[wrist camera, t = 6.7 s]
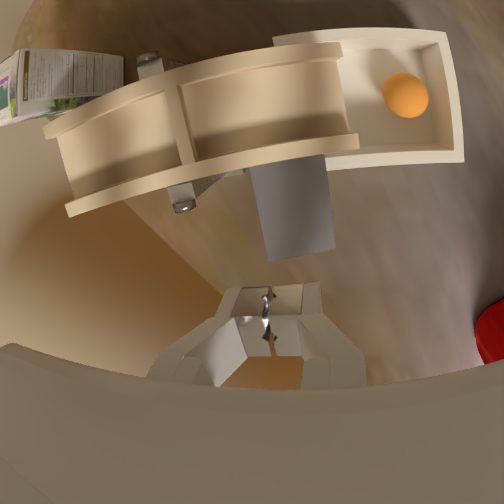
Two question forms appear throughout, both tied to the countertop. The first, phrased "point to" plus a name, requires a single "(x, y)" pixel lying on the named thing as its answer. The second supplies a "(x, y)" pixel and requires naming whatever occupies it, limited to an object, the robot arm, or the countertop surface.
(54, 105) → the syrup box
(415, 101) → the ball
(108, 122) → the lever
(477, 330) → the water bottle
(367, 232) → the countertop surface
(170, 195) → the pivot stand
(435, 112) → the white open tray
